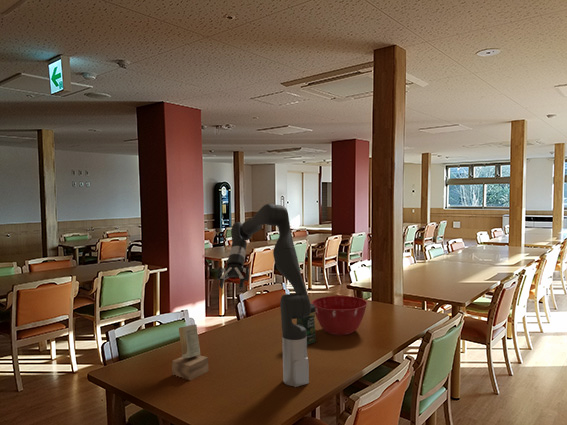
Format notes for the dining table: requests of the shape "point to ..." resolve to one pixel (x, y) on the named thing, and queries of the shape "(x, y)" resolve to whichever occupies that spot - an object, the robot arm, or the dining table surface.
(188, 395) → the dining table surface
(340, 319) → the mixing bowl
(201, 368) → the streaked beige block
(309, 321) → the coffee jar
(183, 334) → the skincare box
